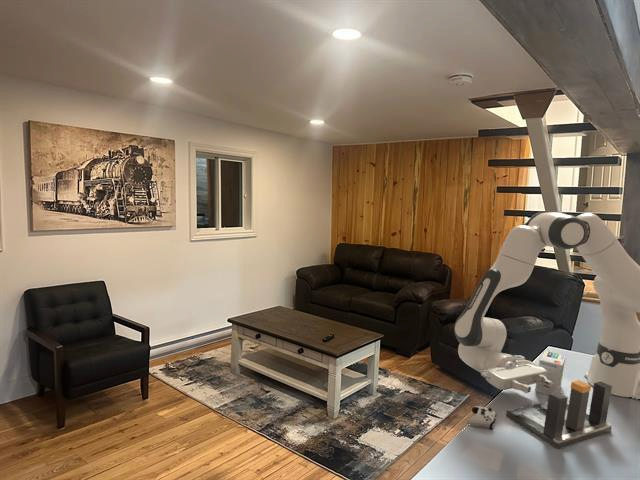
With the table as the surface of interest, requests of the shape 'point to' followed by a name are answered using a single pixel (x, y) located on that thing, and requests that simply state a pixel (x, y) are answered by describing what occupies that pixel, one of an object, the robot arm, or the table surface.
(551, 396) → the grey peg stand
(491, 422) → the game controller
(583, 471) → the table surface
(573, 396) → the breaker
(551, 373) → the light bulb box
